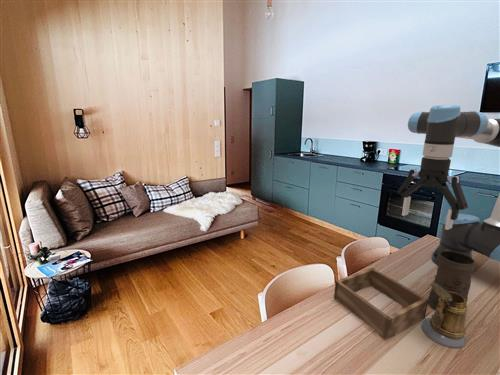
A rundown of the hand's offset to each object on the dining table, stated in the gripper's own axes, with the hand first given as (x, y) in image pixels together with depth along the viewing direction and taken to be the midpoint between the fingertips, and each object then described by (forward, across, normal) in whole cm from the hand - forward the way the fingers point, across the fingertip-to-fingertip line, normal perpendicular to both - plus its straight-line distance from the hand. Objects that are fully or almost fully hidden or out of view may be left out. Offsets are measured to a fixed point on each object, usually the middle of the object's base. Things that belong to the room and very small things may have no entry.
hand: (425, 221), depth 89 cm
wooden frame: (+31, -4, -14) cm, 34 cm away
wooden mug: (+30, +13, -6) cm, 33 cm away
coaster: (+31, +13, -7) cm, 34 cm away
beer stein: (+31, +6, +9) cm, 33 cm away
